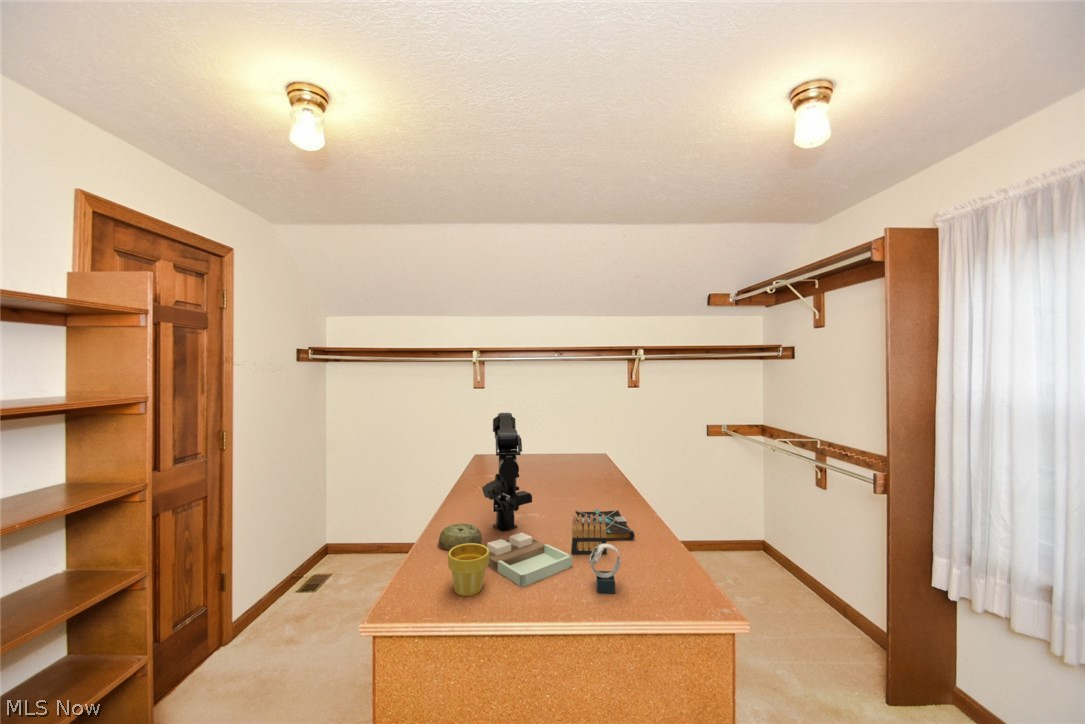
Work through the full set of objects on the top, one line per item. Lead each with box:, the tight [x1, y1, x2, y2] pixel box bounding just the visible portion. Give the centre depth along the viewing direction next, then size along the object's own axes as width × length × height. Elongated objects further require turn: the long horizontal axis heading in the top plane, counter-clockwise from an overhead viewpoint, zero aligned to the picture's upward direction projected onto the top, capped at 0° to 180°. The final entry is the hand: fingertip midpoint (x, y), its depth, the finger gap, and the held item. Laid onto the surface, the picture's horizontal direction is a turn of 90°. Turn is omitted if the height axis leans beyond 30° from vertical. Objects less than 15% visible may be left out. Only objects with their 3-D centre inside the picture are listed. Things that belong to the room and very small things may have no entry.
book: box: [574, 508, 635, 542], centre depth 153 cm, size 22×17×5 cm
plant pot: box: [447, 543, 489, 597], centre depth 111 cm, size 10×10×10 cm
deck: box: [487, 538, 545, 573], centre depth 130 cm, size 11×18×2 cm, turn 130°
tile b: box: [486, 538, 511, 555], centre depth 129 cm, size 5×5×2 cm
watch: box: [588, 543, 622, 595], centre depth 112 cm, size 6×8×11 cm
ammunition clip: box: [570, 513, 608, 556], centre depth 133 cm, size 11×2×12 cm, turn 91°
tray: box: [497, 543, 573, 588], centre depth 122 cm, size 11×18×3 cm, turn 130°
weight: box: [438, 523, 483, 552], centre depth 140 cm, size 14×13×5 cm
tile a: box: [508, 531, 533, 548], centre depth 134 cm, size 5×5×2 cm
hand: (507, 519), depth 139 cm, fingers closed
